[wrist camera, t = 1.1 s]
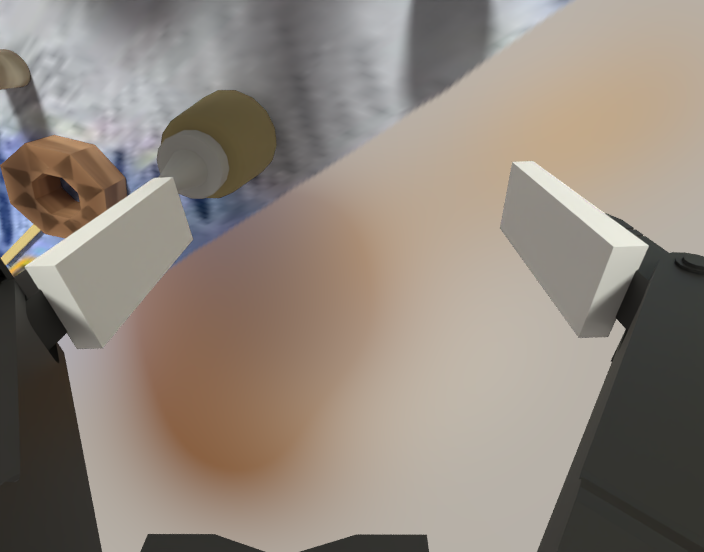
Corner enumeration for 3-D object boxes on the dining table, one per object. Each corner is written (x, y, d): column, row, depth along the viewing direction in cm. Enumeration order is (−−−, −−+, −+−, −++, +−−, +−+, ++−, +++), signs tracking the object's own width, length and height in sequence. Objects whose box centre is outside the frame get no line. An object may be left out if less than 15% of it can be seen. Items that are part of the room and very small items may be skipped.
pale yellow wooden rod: (8, 263, 48) (5, 265, 47) (1, 258, 47) (-2, 260, 47) (53, 217, 44) (50, 219, 44) (46, 212, 44) (43, 213, 43)
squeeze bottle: (242, 182, 41) (172, 262, 26) (189, 117, 38) (70, 166, 22) (299, 140, 39) (257, 202, 23) (247, 67, 35) (158, 83, 20)
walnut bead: (15, 168, 41) (-17, 179, 38) (71, 119, 38) (43, 127, 35) (89, 238, 45) (67, 253, 42) (145, 199, 42) (126, 212, 39)
